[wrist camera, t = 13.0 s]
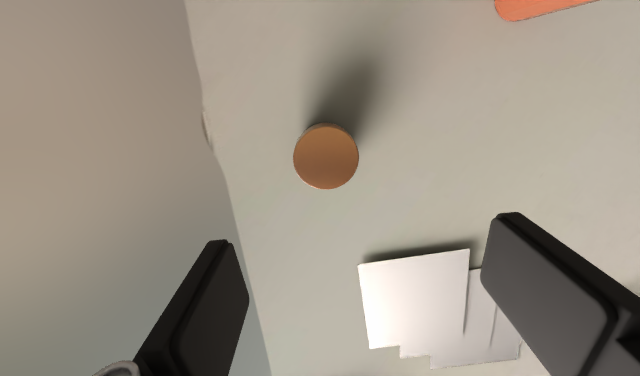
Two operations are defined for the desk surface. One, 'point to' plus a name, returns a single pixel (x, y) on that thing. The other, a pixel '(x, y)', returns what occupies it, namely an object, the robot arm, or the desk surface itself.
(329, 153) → the oak chip
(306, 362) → the desk surface
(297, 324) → the desk surface
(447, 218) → the desk surface
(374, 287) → the paper stack
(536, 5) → the terracotta cup
